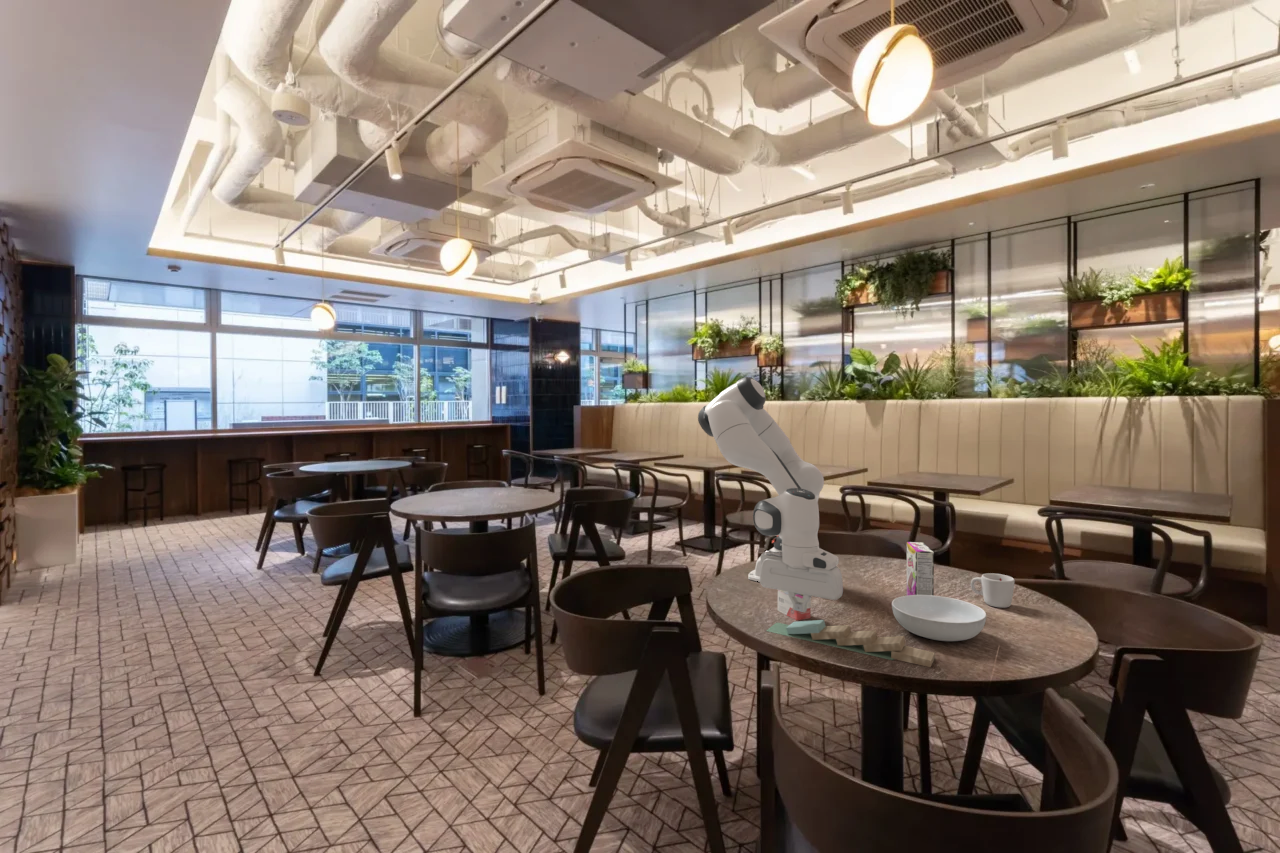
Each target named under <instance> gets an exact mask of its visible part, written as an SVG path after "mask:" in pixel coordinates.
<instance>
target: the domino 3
mask: <svg viewBox="0 0 1280 853" xmlns="http://www.w3.org/2000/svg"><path fill="white" fill-rule="evenodd" d="M877 637H878V634H877V630H860V631H859V630H857V631H851V632H850V634H849V635H848V636H847V637H846V638H844V639H836V641H837V645H838V646H844V645H872V644H873V643H874V641H875V640H876V639H877Z"/></svg>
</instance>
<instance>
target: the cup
mask: <svg viewBox="0 0 1280 853" xmlns="http://www.w3.org/2000/svg"><path fill="white" fill-rule="evenodd" d="M975 582H979V583H980V586H981V589H980V590H978V589H976V587H975ZM1015 582H1016V581H1015V578H1013V577H1012V576H1010V575H1007V574H1006V575H1005V574H1001V573H993V572H992V573H991V572H990V573H989V572H988V573H982V575H981V577H978V576H976V577H974V578H972V579H971V580H970V589H971V591H972V592H974V593H975V594H977V595H981V596H983V597H982V598H983V600H984V603H985V604H986V605H988V606H991V607H994V608H998V609H999V608H1000V609H1002V608H1003V609H1006V608H1009V607H1010V606H1011V605H1012V602H1013V595H1014V588H1015Z"/></svg>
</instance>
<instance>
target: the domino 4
mask: <svg viewBox="0 0 1280 853" xmlns="http://www.w3.org/2000/svg"><path fill="white" fill-rule="evenodd" d="M906 644H907V642H906V639H905V636H904V635H898V636H896V635H895V636H881V637H879V636H877V639H876V640H875V641H874V643H873V644H872V645H863V646H864V650H865V652H878V651H901V650H902V649H903V647H904V645H905V646H906Z"/></svg>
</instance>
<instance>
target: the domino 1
mask: <svg viewBox="0 0 1280 853" xmlns="http://www.w3.org/2000/svg"><path fill="white" fill-rule="evenodd" d="M788 625H789V626H788V627H787V628H786V629H787V633H788V634H805V633H819V632H820V631H821V630H822V629H823V628H824V627H825V626H826V622H825V619H815V620H795V621H793V622H791V623H790V624H788Z"/></svg>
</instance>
